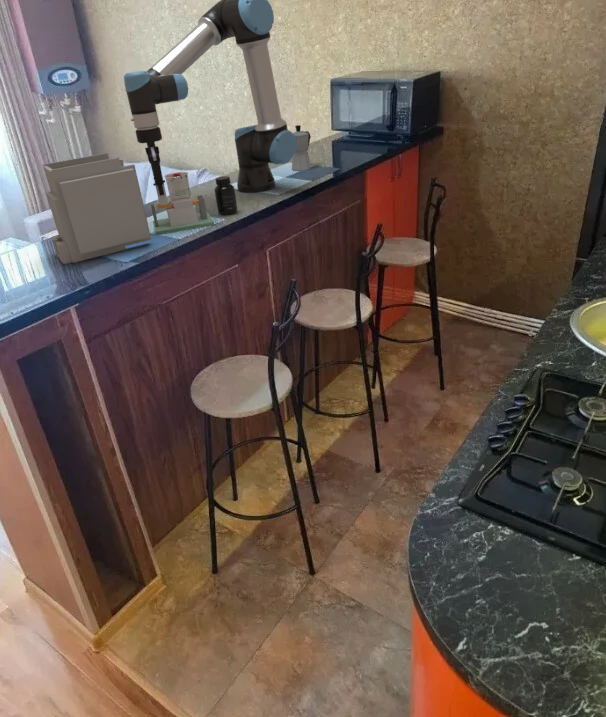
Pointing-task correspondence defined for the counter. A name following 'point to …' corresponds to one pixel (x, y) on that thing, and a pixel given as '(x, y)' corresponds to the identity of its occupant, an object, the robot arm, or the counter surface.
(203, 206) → the board
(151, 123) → the robot arm
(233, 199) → the supplement bottle
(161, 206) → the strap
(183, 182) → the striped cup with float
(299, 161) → the coffee maker
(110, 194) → the grey layered block
